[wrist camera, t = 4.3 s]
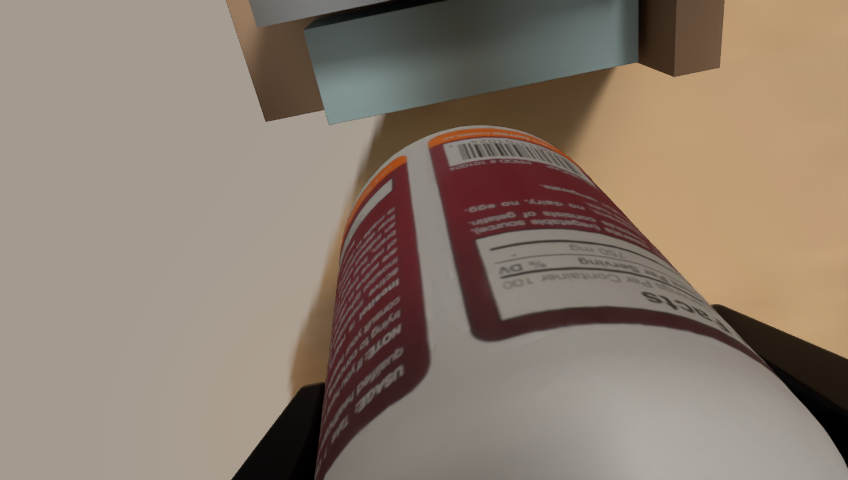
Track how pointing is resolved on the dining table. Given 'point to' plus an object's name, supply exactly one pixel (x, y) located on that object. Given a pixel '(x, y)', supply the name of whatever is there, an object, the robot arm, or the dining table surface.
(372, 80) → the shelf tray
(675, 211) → the dining table surface
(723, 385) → the pill bottle
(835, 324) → the dining table surface
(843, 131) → the dining table surface
